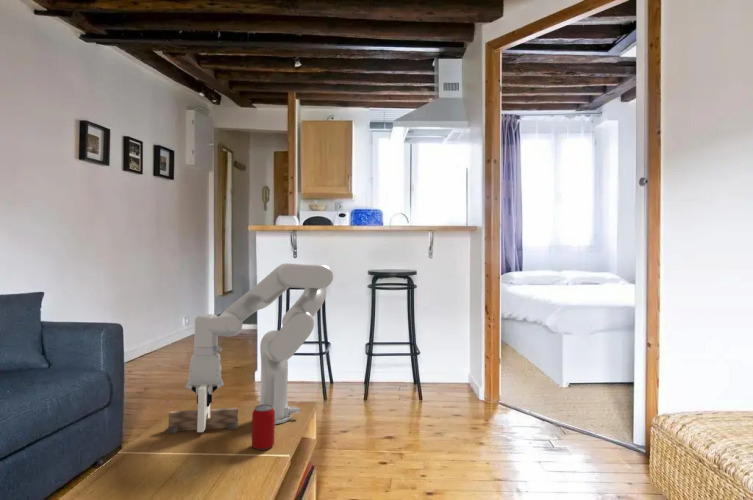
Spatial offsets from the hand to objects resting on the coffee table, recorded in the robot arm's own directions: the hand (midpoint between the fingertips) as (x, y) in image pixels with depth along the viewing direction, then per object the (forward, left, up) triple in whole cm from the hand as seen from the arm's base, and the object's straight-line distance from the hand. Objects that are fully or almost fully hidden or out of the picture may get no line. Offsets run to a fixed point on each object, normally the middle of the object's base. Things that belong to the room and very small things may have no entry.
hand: (204, 405), depth 151 cm
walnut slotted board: (0, 0, -8) cm, 8 cm away
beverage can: (-20, +19, -8) cm, 29 cm away
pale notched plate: (0, 0, -7) cm, 7 cm away
